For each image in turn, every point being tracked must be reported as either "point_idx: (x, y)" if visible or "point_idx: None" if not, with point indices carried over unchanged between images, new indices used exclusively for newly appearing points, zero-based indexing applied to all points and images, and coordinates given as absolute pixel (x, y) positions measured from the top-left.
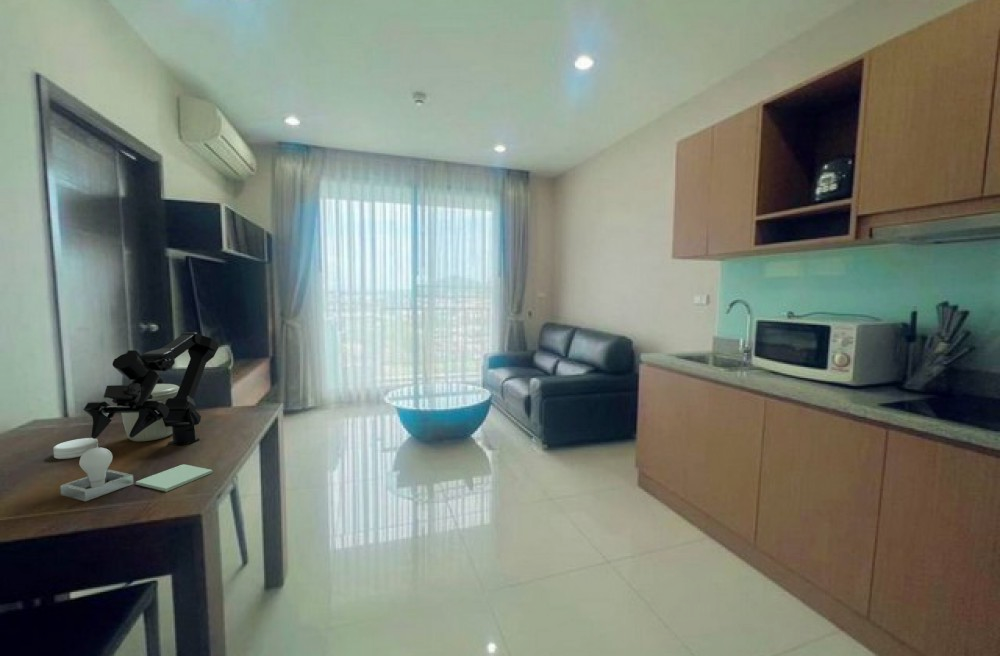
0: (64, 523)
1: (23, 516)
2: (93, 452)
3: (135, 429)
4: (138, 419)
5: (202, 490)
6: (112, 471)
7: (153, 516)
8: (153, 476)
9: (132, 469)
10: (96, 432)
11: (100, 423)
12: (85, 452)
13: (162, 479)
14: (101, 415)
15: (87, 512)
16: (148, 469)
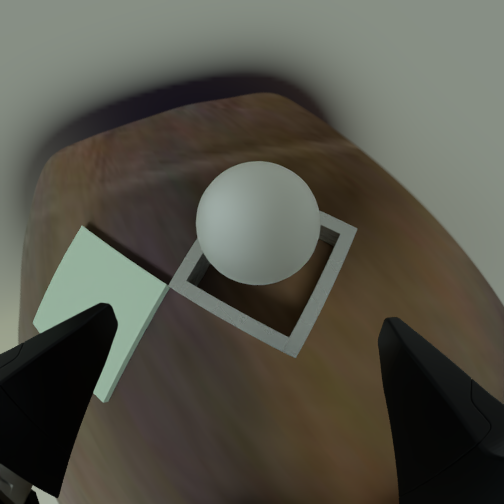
0: (215, 117)
1: (328, 144)
2: (239, 168)
3: (61, 324)
4: (5, 369)
5: (40, 229)
6: (266, 334)
7: (89, 143)
8: (134, 315)
9: (265, 427)
10: (396, 357)
11: (435, 439)
12: (287, 175)
13: (104, 286)
14: (485, 496)
15: (199, 147)
16: (205, 415)
